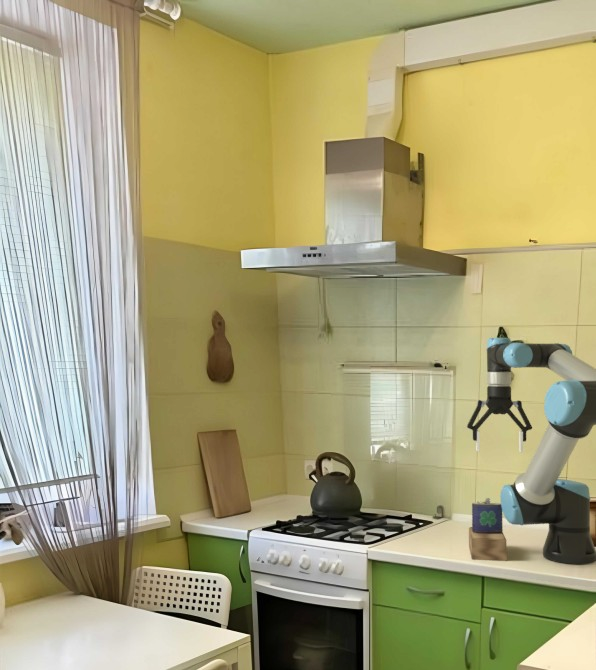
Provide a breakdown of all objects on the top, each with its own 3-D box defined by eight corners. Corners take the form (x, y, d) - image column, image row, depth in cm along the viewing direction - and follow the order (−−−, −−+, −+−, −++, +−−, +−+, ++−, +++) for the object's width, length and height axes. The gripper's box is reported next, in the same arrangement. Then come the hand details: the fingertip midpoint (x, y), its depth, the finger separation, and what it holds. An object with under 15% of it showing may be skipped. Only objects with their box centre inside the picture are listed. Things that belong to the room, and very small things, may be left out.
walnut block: (501, 548, 238) (501, 527, 238) (506, 560, 222) (506, 539, 222) (468, 546, 240) (468, 526, 240) (471, 559, 224) (471, 537, 224)
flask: (501, 531, 232) (501, 496, 233) (503, 534, 229) (503, 498, 230) (471, 531, 233) (471, 496, 233) (473, 533, 230) (473, 498, 230)
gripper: (536, 385, 246) (536, 450, 245) (458, 384, 249) (458, 449, 248) (541, 386, 238) (541, 453, 238) (461, 385, 241) (461, 451, 241)
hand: (499, 451), depth 243 cm, fingers open, 13 cm apart
